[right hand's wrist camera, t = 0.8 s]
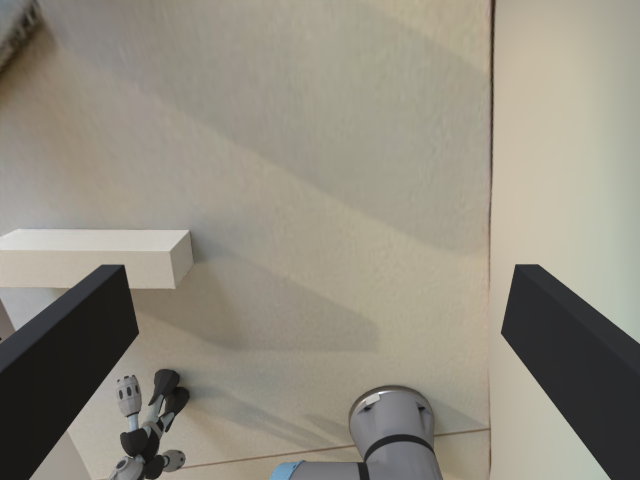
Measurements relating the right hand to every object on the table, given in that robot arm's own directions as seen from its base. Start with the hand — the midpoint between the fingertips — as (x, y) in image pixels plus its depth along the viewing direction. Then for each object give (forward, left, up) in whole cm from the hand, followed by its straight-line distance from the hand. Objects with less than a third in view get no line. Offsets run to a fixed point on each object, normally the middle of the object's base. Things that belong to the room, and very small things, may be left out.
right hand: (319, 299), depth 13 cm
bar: (-15, +32, -41) cm, 54 cm away
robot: (-42, +26, -41) cm, 64 cm away
